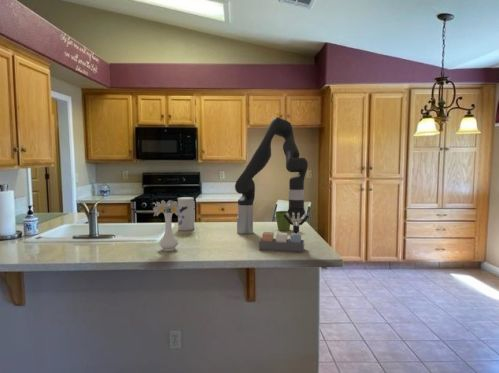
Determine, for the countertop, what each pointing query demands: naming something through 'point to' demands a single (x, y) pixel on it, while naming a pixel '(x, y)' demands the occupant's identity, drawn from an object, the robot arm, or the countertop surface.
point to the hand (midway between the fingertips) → (296, 233)
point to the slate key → (295, 238)
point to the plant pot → (282, 221)
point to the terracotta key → (268, 236)
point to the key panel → (281, 246)
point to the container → (186, 213)
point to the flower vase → (167, 223)
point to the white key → (281, 237)
